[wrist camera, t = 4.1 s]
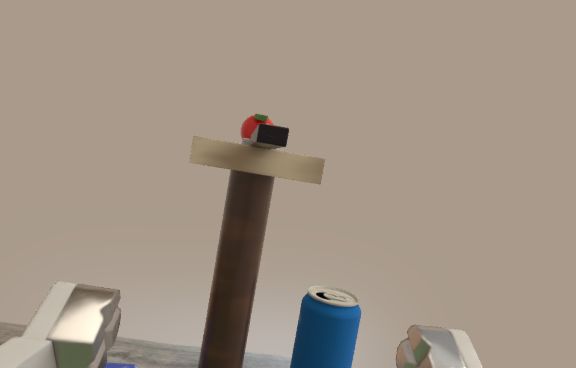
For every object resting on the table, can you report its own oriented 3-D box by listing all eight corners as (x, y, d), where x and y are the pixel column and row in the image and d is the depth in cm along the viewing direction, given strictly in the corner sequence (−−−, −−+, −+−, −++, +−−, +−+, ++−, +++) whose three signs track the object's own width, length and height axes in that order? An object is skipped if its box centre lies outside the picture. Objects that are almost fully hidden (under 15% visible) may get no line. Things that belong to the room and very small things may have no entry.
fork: (238, 138, 20) (249, 72, 20) (238, 146, 40) (243, 113, 40) (302, 150, 21) (314, 85, 20) (270, 152, 41) (276, 119, 40)
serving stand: (126, 470, 30) (179, 133, 28) (158, 380, 42) (196, 139, 40) (280, 479, 32) (337, 161, 30) (268, 390, 43) (309, 159, 42)
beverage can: (288, 378, 47) (306, 280, 46) (342, 390, 46) (361, 291, 45) (281, 411, 40) (301, 298, 40) (344, 426, 40) (365, 311, 39)
